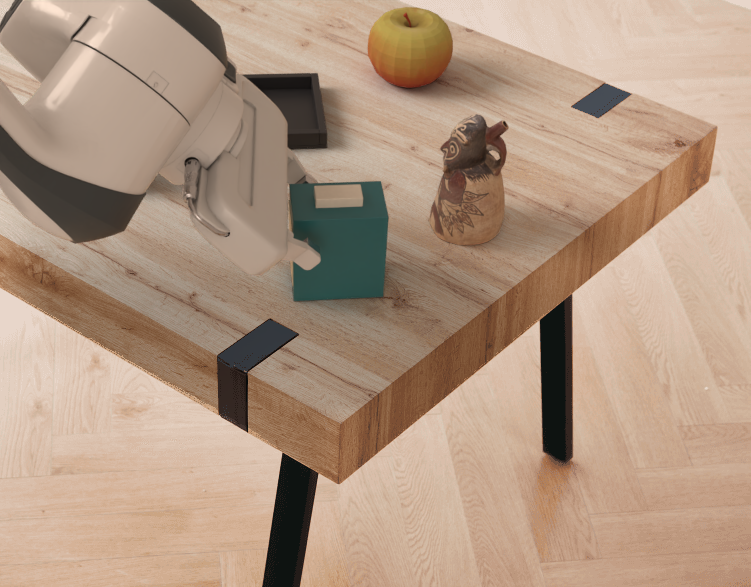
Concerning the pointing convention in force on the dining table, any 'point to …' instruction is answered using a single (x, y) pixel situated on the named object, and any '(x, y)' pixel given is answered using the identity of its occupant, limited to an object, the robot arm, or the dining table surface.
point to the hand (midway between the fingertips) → (314, 225)
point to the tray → (296, 106)
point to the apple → (410, 46)
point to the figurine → (471, 184)
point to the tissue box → (340, 239)
